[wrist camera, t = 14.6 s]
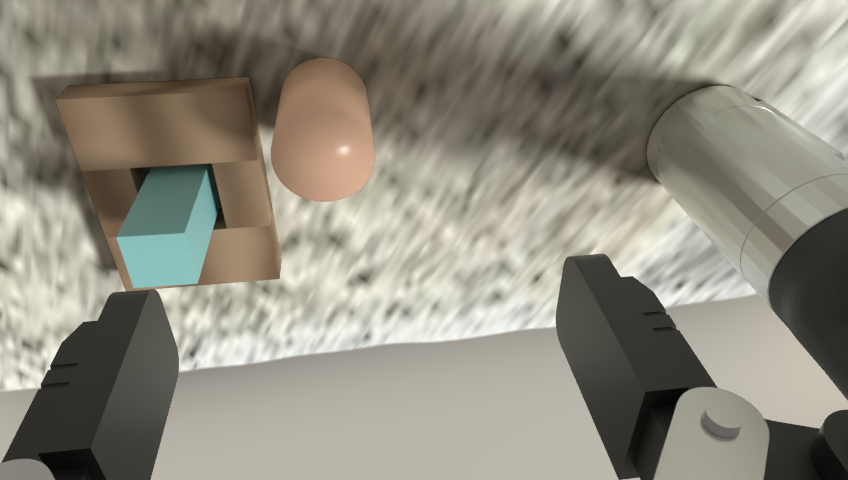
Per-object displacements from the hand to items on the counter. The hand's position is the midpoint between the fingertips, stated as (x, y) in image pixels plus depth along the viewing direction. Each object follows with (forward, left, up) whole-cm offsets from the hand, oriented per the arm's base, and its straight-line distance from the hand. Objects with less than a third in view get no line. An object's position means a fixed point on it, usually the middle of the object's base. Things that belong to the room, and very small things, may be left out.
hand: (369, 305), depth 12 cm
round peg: (+2, +9, -33) cm, 34 cm away
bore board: (+13, +15, -33) cm, 39 cm away
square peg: (+13, +15, -33) cm, 39 cm away
